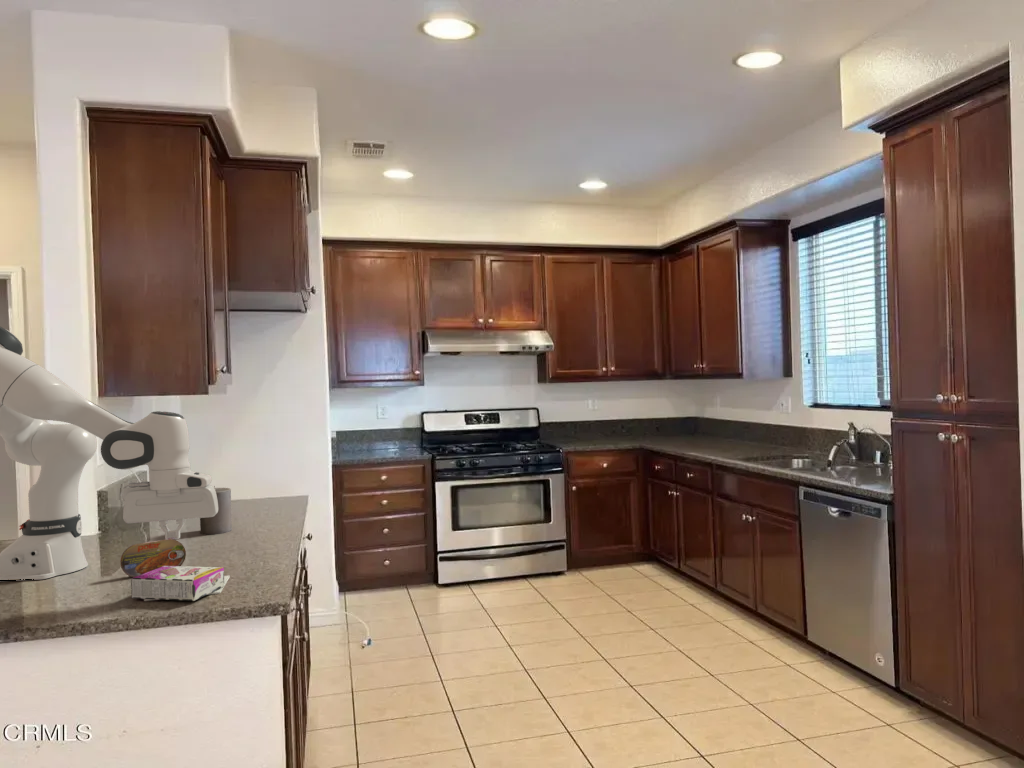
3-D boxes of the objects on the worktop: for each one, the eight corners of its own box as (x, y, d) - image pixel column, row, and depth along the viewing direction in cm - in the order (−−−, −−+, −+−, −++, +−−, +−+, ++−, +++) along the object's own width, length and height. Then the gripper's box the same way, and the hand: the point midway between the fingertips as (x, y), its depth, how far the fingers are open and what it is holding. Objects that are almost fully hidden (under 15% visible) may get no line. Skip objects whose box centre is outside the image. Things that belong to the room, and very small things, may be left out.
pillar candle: (194, 535, 227) (193, 488, 227) (208, 528, 237) (207, 483, 237) (224, 534, 227) (223, 488, 227) (237, 527, 237) (235, 483, 236)
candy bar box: (164, 563, 170) (224, 566, 167) (164, 584, 170) (225, 587, 167) (129, 577, 159) (193, 579, 156) (130, 599, 159) (194, 602, 156)
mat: (144, 601, 159) (144, 599, 159) (160, 583, 173) (159, 581, 173) (220, 593, 163) (220, 591, 163) (229, 577, 176) (229, 575, 176)
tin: (121, 580, 177) (119, 547, 177) (120, 577, 180) (118, 544, 180) (186, 569, 185) (185, 537, 185) (184, 567, 188) (183, 535, 188)
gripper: (117, 485, 161) (120, 545, 161) (213, 479, 166) (216, 537, 166) (125, 481, 167) (128, 539, 167) (218, 475, 172) (220, 532, 172)
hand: (172, 538), depth 167 cm, fingers closed
